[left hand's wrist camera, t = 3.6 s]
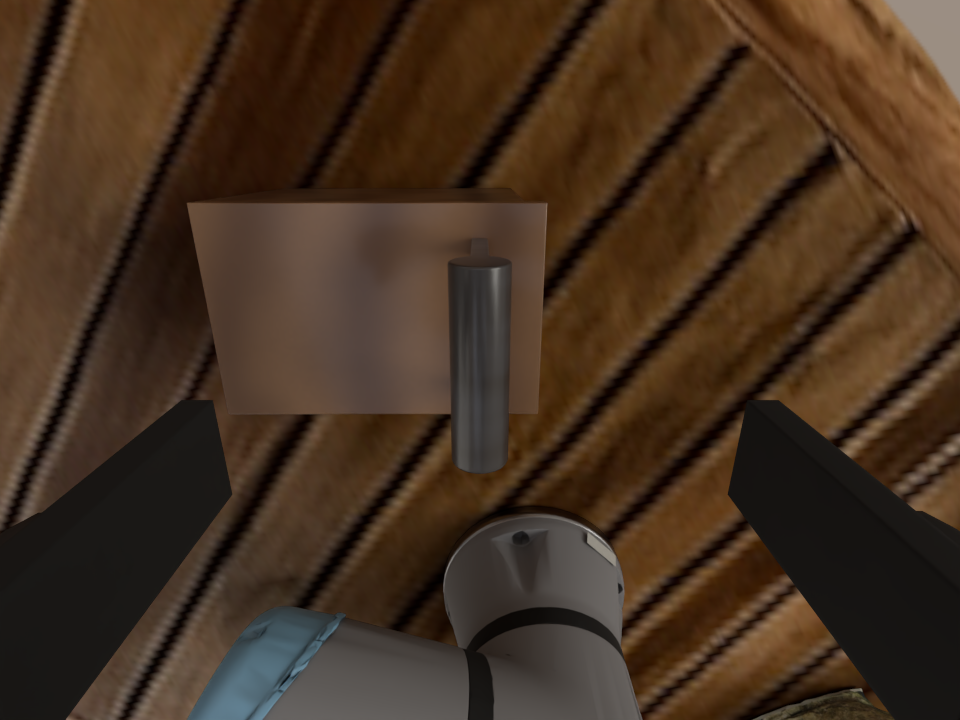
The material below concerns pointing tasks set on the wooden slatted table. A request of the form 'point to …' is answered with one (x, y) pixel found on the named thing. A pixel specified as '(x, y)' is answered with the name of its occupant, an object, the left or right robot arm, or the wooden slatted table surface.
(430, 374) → the lid
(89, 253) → the wooden slatted table surface
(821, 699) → the fossil
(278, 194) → the chest
